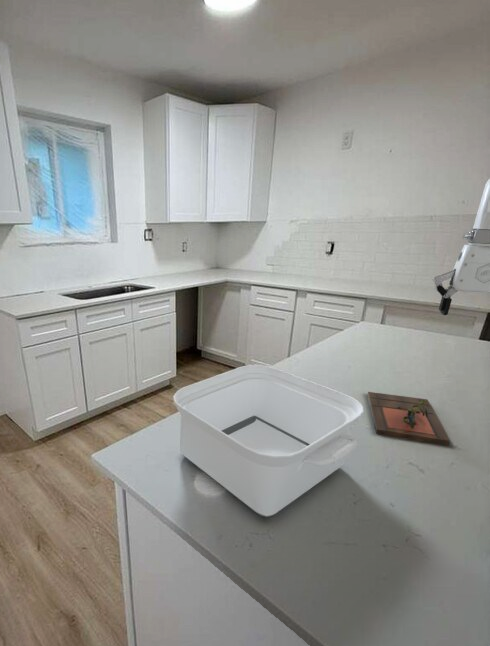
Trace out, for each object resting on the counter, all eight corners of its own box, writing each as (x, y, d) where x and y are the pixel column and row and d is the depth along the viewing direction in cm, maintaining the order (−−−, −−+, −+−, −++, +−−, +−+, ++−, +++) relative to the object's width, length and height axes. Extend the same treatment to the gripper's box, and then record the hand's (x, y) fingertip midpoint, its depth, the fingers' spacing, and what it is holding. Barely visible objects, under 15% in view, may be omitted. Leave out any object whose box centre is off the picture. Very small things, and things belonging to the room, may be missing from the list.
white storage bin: (156, 449, 81) (153, 390, 75) (244, 409, 96) (248, 357, 90) (282, 554, 55) (293, 477, 49) (376, 477, 70) (393, 411, 64)
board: (426, 403, 96) (427, 398, 95) (448, 445, 79) (450, 440, 78) (367, 395, 101) (367, 391, 100) (376, 433, 84) (377, 428, 83)
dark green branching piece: (424, 432, 81) (431, 407, 79) (392, 424, 85) (398, 400, 82) (425, 416, 87) (432, 392, 85) (395, 409, 91) (401, 386, 88)
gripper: (449, 239, 78) (428, 316, 85) (553, 239, 72) (522, 322, 79) (439, 237, 84) (421, 309, 91) (534, 236, 78) (507, 313, 85)
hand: (468, 315), depth 85 cm, fingers open, 9 cm apart
